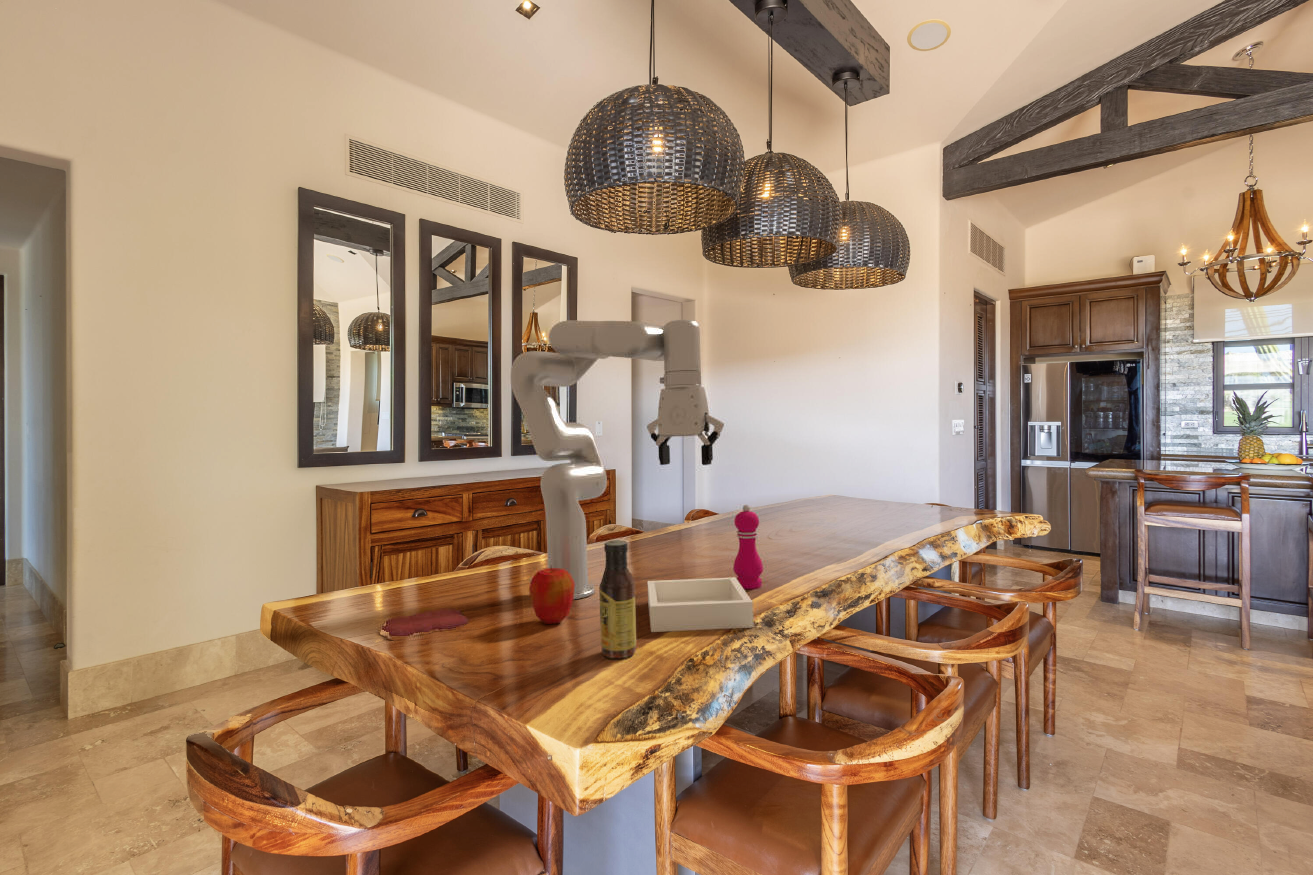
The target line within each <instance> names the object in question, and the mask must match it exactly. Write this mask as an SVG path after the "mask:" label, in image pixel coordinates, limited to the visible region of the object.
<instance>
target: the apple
mask: <svg viewBox="0 0 1313 875" xmlns="http://www.w3.org/2000/svg"><path fill="white" fill-rule="evenodd" d="M550 567H551V565H550ZM531 578H532V580H531V584H530V585H529V587H528V590H529V596H530V601H531V605H532V607H533V610H534V613H535V616H536V618H538V619H539V620H540V621H541V622H543V623H544V624H547V625H548V624H549V625H551V624H552V625H553V624H557V623H561V622H562V621H564V620H565V618H567V617H568V616H569V615H570V611H571V609H572V605H573V602H574V599H573V597H574V587H575V583H574V581H573V579H572V576H571V575H570V574H569V573H568V572H567V571H566V570H564V569H559V568H552V567H551V568H548V567H546V568H543V569H540V570H537V572H536V573H535V574H534V575H533V577H531Z"/></svg>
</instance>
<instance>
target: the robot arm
mask: <svg viewBox="0 0 1313 875" xmlns="http://www.w3.org/2000/svg"><path fill="white" fill-rule="evenodd" d="M548 342H549V345H550V347H551V348H552V350H554V351H555V352H550V351H538V350H537V351H536V350H530V351H526V352H523V353H521V354H519V355H517V357H516V358H515V359H514V361H513V362H512V365H511V369H510V386H511V390H512V393H513V396H514V397H515V399H516V401H517V403H518V406H519V407H520V409H521V412H522V414H523V416H524V420H525V424H526V427H527V430H528V433H529V436H530V439H531V442H532V445H533V448H534V450H535V453H536V455H537V457H538V458H539V459H541V460H543V461H546V462H559V461H569V462H562V463H561V462H560V463H558V464H553V465H551V466H549V467H547V468H546V469H545V471H543V473H542V475H541V478H540V491H541V495H542V499H543V503H544V511H545V512H544V513H545V524H546V528H545V529H546V545H547V546H546V548H547V550H546V551H547V568H551V567H552V568H559V569H564V570H566V571H567V572H568V573H569V574H570V575H571V576H572V579H573V581H574V583H575V587H574V597H573V600H578V599H583V598H587V597H589V596H591V595H593V594H594V593H595V591H596V588H595V585H593V584H591V583H589V575H588V574H589V571H588V547H587V546H588V540H587V522H586V515H585V513H584V511H583V509H582V506H581V505H580V503H579V501H585V500H586V501H587V500H591V499H597V498H599V497H600V496H602V495H603V494H604V492H605V491H606V489H607V486H608V485H607V484H608V478H607V471H606V469H605V466H604V462H603V460H602V458H601V454H600V451H599V448H598V445H597V443H596V440H595V438H594V435H593V434H592V432H591V430H590V429H589V428H588V427H587V426H586V425H584V424H582V423H580V422H566V421H564V420H563V419H562V417H561V414H560V411H559V408H558V405H557V403H556V401H555V400H554V398H553V397H552V396H551V394H549V393H548V392H547V391H546V390H545V389H544V387H558V388H560V387H561V388H565V387H566V388H567V387H570V386H573V385H575V384H576V383H577V382H579V381H580V379H581V378H583V376H585V374H586V373H587V372H588V371H589V370H590V369H591V367H592V366H594V364H595V363H596V362H597V361H598V360H599V359H600V360H605V359H607V358H610V357H613V358H614V357H615V358H624V359H625V358H626V359H633V360H635V359H636V360H645V361H647V360H648V361H653V362H663V363H664V365H663V366H664V367H663V369H664V370H663V371H664V373H663V376H662V377H659V383H660V384H661V385H662V384H663V385H664V388H661V389H660V394H659V401H658V411H657V418H656V419H655V420H653V421H651V422H650V423H648V424H647V425H646V428H647V431H648V433H649V434H650V437H651V439H652V440H653V441H654V442H655V445H656V446H658V448H657V449H658V460H659V465H660V466H665V465H670V463H671V454H670V453H671V451H670V450H671V447H670V445H669V444H668V443H669V442H670V440H671V439H672V437H696V436H697V437H698V438H699V439H700V440H701V443H703V445H702V444H701V451H700V453H701V464H702V465H703V466H707V465H708V466H709V465H712V461H713V458H714V456H713V450H714V449H713V445H714V444H715V443H716V442H717V440H718V439H719V438H720V436H721V433H722V431H723V429H724V425H725V423H724V422H723V421H722V420H719V419H718V418H715V417H713V416H712V415H710V412H709V403H708V397H707V394H706V393H707V392H706V390H705V387H704V386H702V373H701V372H702V368H701V367H702V366H701V365H702V364H701V363H702V361H701V333H700V325H699V324H698V322H697V321H695V320H691V319H676V320H671V321H670V320H669V321H668V322H666V323H665V324H664V325H657V324H652V323H647V322H640V321H631V320H629V321H628V320H575V319H574V320H573V319H572V320H569V319H568V320H562V321H559V322H557V323H555V324H554V325H553V326H552V327H551V329H550V331H549V333H548ZM710 425H712V426H713V427H714V428H713V431H712V432H711V433H709V432H710V429H711V428H710ZM550 565H551V567H550ZM532 578H533V577H531V578H529V583H530V584H531V580H532Z"/></svg>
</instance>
